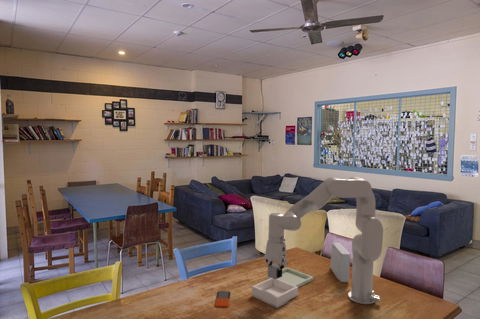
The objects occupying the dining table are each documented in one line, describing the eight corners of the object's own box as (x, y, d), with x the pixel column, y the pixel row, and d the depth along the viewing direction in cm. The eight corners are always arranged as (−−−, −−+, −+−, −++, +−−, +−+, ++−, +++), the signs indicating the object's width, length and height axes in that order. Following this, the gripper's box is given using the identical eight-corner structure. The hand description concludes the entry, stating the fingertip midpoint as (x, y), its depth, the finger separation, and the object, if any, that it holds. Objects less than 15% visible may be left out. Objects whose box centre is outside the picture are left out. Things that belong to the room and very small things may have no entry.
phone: (214, 305, 151) (217, 290, 166) (214, 308, 151) (217, 293, 166) (228, 306, 151) (230, 291, 166) (228, 308, 151) (230, 293, 166)
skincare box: (349, 282, 179) (350, 254, 178) (339, 282, 179) (340, 254, 178) (339, 267, 200) (339, 242, 199) (330, 267, 200) (330, 241, 199)
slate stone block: (282, 276, 162) (282, 266, 161) (275, 279, 158) (275, 269, 158) (274, 273, 165) (274, 263, 165) (267, 276, 162) (267, 266, 161)
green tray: (313, 281, 180) (313, 276, 180) (293, 291, 168) (293, 286, 168) (287, 271, 193) (287, 267, 193) (266, 280, 181) (266, 275, 180)
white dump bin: (297, 296, 162) (298, 287, 162) (277, 308, 151) (277, 297, 151) (273, 286, 174) (273, 276, 173) (252, 295, 162) (252, 286, 162)
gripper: (294, 241, 157) (293, 278, 158) (267, 233, 169) (266, 268, 170) (285, 244, 152) (283, 283, 153) (258, 236, 164) (257, 271, 165)
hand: (274, 274), depth 162 cm, fingers closed on slate stone block, 5 cm apart
